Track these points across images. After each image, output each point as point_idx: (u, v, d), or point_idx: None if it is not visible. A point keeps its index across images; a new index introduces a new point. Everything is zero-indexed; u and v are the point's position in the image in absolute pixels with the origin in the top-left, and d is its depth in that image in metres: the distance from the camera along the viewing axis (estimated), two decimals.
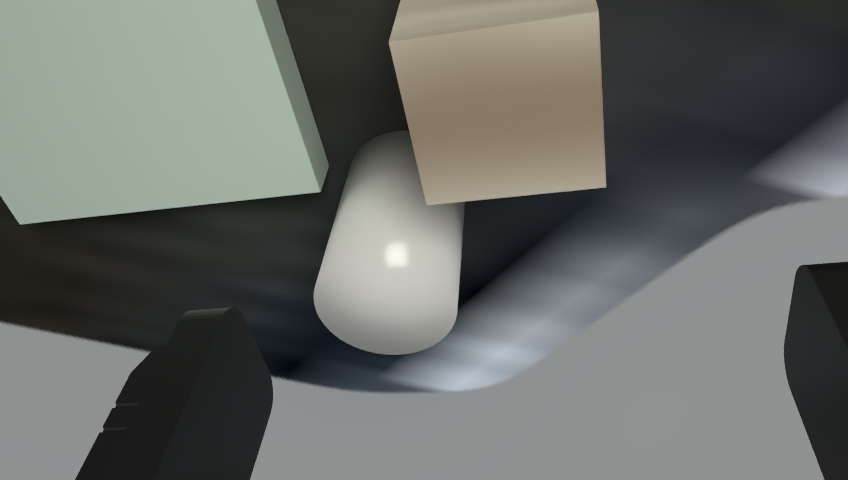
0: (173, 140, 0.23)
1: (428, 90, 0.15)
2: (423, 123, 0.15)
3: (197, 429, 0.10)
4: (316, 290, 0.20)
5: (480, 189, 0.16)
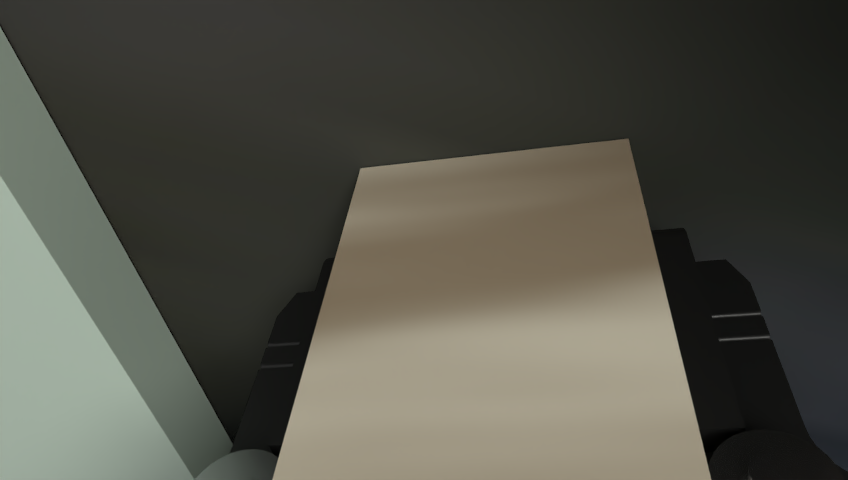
0: None
1: None
2: None
3: None
4: None
5: None
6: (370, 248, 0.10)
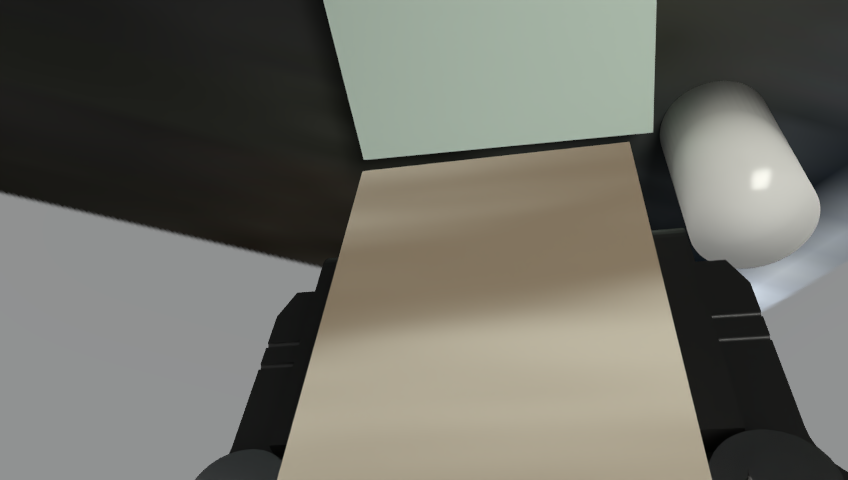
0: (536, 83, 0.26)
1: None
2: None
3: None
4: (697, 206, 0.24)
5: None
6: (372, 251, 0.10)
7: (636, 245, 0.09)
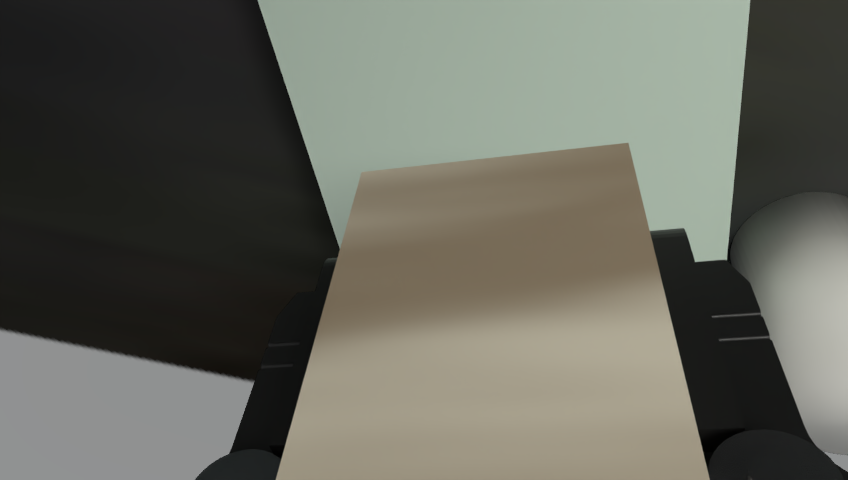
0: None
1: None
2: None
3: None
4: (801, 388, 0.17)
5: None
6: (371, 252, 0.10)
7: (635, 246, 0.09)
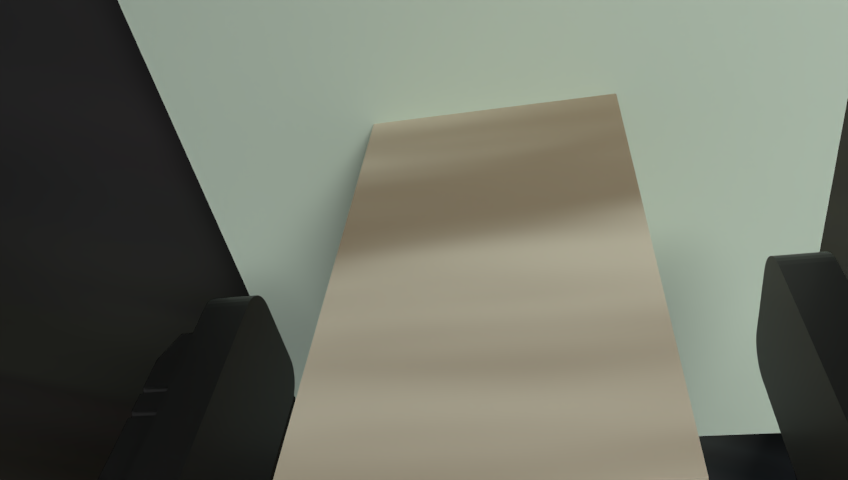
0: None
1: None
2: None
3: (225, 413, 0.10)
4: None
5: None
6: (384, 188, 0.11)
7: (619, 177, 0.10)
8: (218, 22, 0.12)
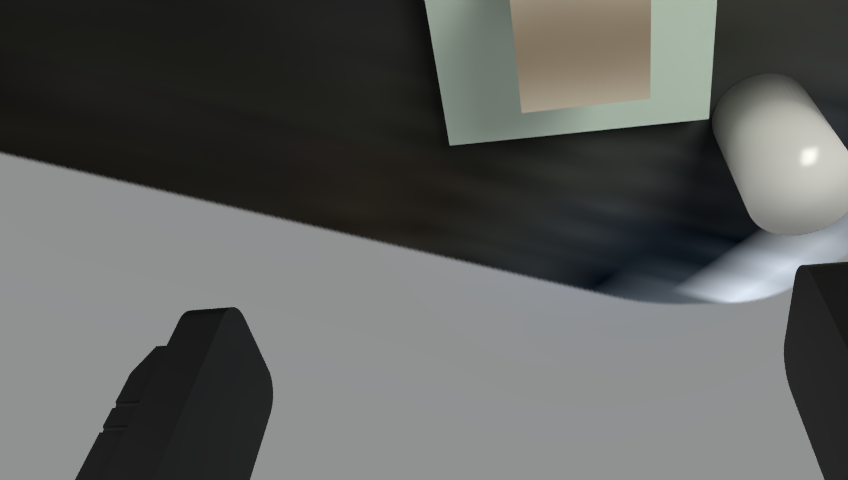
0: None
1: (531, 25, 0.22)
2: (526, 50, 0.22)
3: (197, 429, 0.10)
4: (755, 179, 0.27)
5: (561, 100, 0.23)
6: None
7: None
8: None
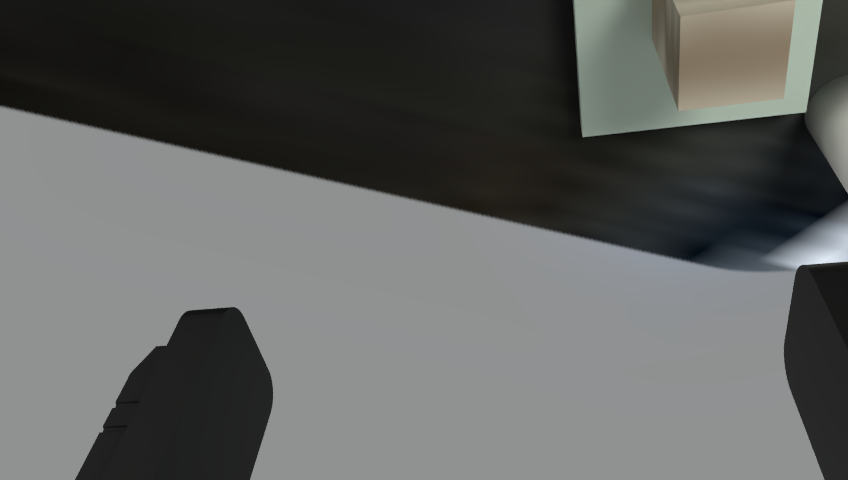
0: None
1: (695, 43, 0.28)
2: (688, 61, 0.28)
3: (197, 429, 0.10)
4: None
5: (711, 100, 0.29)
6: None
7: None
8: None
